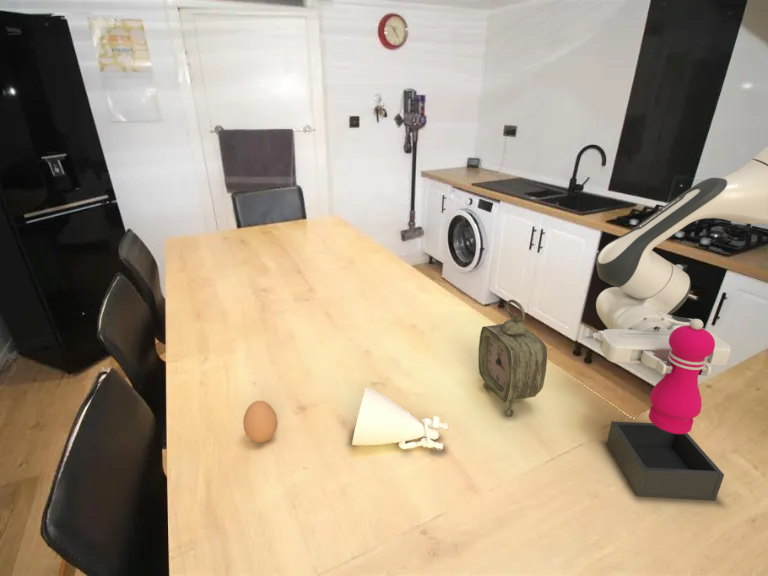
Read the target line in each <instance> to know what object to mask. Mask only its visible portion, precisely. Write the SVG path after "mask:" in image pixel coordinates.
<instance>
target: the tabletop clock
mask: <svg viewBox="0 0 768 576" xmlns="http://www.w3.org/2000/svg"><path fill="white" fill-rule="evenodd" d="M510 303H512V304H514V305H516V306H517V307H518V308H519V310H520V312H521V315H522V318H518V313H516V312H513V313H512V312H511V311H510V308H509V304H510ZM505 308H506V309H505V310H506V312H507V314H508V315H509V317H510V318H509V319H507V320H505V322H504V323H500V324H499V323H498V324H492V325H485V326H482V327H481V330H480V334H479V342H478V358H477V359H478V373H479V375H480V377H481V379H482V381H483V382H484V383H483V384H482V386H483V389H485V390H488V389H489V390H490V391H491V392H492V393H493V394H494V395H495V396H496V397H497V398H498V399H499V400H500V401H502V402H504V403H507V402H509V406H508V408H507V409H505V415H506V416H508V417H512V416H513V415H514V410H513V405H514V402H515V401H519V400H525V399H530V398H534V397H537V395H538V394H539V393H540V392H541V391H542V389H543V387H544V384H545V379H546V374H547V373H546V372H547V364H548V347H547V345H546V343H545V342H544V341H543V340H542V339H541V338H540V337H539V336H537V335H536V334H534V332H532V331H530V330H529V329H527V328H526V326H525V324H524V323H523V322H524V321H525V318H526V313H525V309H524V307H523V306H522V305H521V303H520V302H518V301H517V300H515V299H509V300H507V301H506V304H505Z"/></svg>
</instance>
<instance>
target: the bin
mask: <svg viewBox="0 0 768 576" xmlns="http://www.w3.org/2000/svg"><path fill="white" fill-rule="evenodd" d="M606 446H607V448H608V450H609V452H610V453H611V455H612V456H613V458H614V460H615V461H616V463H617V465H618V467H619V469H620V470H621V473H623V475H624V477H625V479H626V480H627V483H628V484H629V485H630V488H631V489H632V491H633V493H634V494H635V495H636V497H645V498H646V497H647V498H662V499H679V500H680V499H682V500H696V501H697V500H698V501H699V500H700V501H717V497H718V494H719V492H720V488H721V487H722V483H723V479H724V477H725V474H724V472H722V470H721V469H720V468H719V467H718V466H717V464H715V462H714V461H713V460H712V459H711V458H710V456H708V455H707V453H706V452H705V451H704V450H703V449H702V448H701V447H700V446H699V445H698V443H697V442H696V441H695V440H694V439H693V438H692V436H691V435H690V434H689V432H688V433H686V434H675V433H670V432H667V431H664V430H662V429H660V428H658V427H657V426H655V425H654V424H653V423H652V422H635V421H634V422H633V421H615V420H614V421H610V425H609V430H608V435H607V439H606Z"/></svg>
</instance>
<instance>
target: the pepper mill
mask: <svg viewBox="0 0 768 576" xmlns="http://www.w3.org/2000/svg"><path fill="white" fill-rule="evenodd" d="M692 319H693V320H691V321H690V324H689V325H690V326H689V325H688V326H681V327H678V328H676V329H675V330H674V331H673V332H672V333H671V335H670V337H669V345H670V347H671V348H672V349H671V350H670V351H669V354H670V355H669V356H668V359H669V361H670V364H671V365H672V366H673V369H672V370H671V372H672V373H671V374H664V376H663V377H662V378H661V379H660V380H659V381H658V382H657V383H656V384H655V385H654V386H653V388H652V390H651V392H650V394H649V401H650V404H651V406H650V408H649V413H648V419H649V420H650V423H653V424H654V425H655V426H657V427H658V428H660V429H662V430H664V431H667V432H670V433H675V434H686V433H688V434H689V433H690V432H691V431H692V428H693V425H694V418H696V417H698V416H699V415H700V413H701V411H702V405H703V403H702V402H703V401H702V396H701V393H700V387H699V382H698V381H699V380H698V379H699V375H698V374H699V372H700V370H701V369H703V368H704V367H705V363H706V361H707V360H706V358H705V357H707V356H709V355H711V354H712V353H713V351H714V348H715V340H714V338H713V336H712V335H711V334H710V333H709V332H708V331H709V330H708V331H706V330H707V329H706V328H704V322H703V321H702V319H700V318H692ZM702 328H703V329H702ZM705 329H706V330H705Z"/></svg>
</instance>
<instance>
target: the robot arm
mask: <svg viewBox="0 0 768 576" xmlns="http://www.w3.org/2000/svg"><path fill="white" fill-rule="evenodd" d="M704 219H718V220H719V219H720V220H725V221H729V222H730V221H731V222H735V223H740V224H747V225H763V224H764V225H765V224H768V145H767V146H765V147H764V148H763V149H762V150H761V151H759V152H758V153H757V154H756V155H754V157H752V158H751V159H750V160H749V161H748V162H747V163H745V164H744V165H743V166H741V167H740V168H738V169H737V170H735V171H733V172H731V173H728V174H726V175H724V176H722V177H709V178H706V179H704V180H702V181H699V182H698V183H697V184H695V185H693V186H691V187H690V188H688V189H687V190H685V191H684V192H682V193H681V194H680V195H678V196H677V197H676V198H674V199H673V200H671V201H670V202H668V203H667V204H665V205H664V206H662V208H660V209H658V210H657V211H656V212H655V213H653V214H651V215H650V216H649V217H648V218H646V219H644V220H643V221H642V222H641V223H639V224H638V225H637V226H635V227H633V228H632V229H631V230H629V231H627V232H626V233H624V234H622V235H621V236H619V237H617V238H615V239H613V240H611V241H610V242H608V243H607V244H606V245H605V246H603V248H602V249H601V250H600V251H599V253H598V254H597V256H596V271H597V274H598V277H599V279H600V280H601V281H603V282H605V283H607V284H609V285H610V286H613V287H607V288H605V289H604V290H602V291H601V292H600V293H599V294H598V296H597V297H596V301H595V308H596V313H597V315H598V317H599V319H600V320H601V322H602V323H603V324H604V325H605V327H606V328H607V329H602V330H598V331H597V332H594V333H593V334H592V337H593V339H594V341H596V342H597V343H598V344H599V347H600V350H601V352H602V354H603V356H604V357H605V359H606V360H607V361H609V362H611V363H612V364H613V363H614V364H628V365H629V364H632V365H644V366H646V367H648V368H651V369H653V370H655V371H656V372H658V373H659V375H666V374H671V373H672V372H671V370H672V369H673V366H672V365H671V364H670V361H669V359H668V356H669V355H670V354H669V351H670V350H671V349H672V348H671V347H670V345H669V337H670V335H671V333H672V332H673V331H674V330H675V329H676V328H678V327H681V326H688V325H689V324H690V321H691V320H693V319H694V318H687V317H684V316H683V317H682V316H676V315H672V314H674V313H675V312H676V311H678V310H679V309H680V308H681V307H682V306H683V304H684V303H685V302H686V301H687V300H688V297H689V295H690V292H691V287H692V283H691V281H692V280H691V278H690V275H689V273H687V272H685V271H684V270H682V269H681V268H679V267H678V266H676V265H675V264H674V263H672V262H671V261H669V260H667V259H665V258H664V257H662V256H661V255H659V254H658V253H657V252H655V251H653V250H654V248H656V247H657V246H659V245H660V244H661V243H663V242H665V241H666V240H667V239H669V238H670V237H672V236H673V235H675V234H676V233H678V232H679V231H680V230H682V229H683V228H685V227H686V226H688V225H690V224H691V223H693V222H695V221H699V220H704ZM689 326H690V325H689ZM702 329H705V330H706V331H708V332H709V333H710V334H711V335H712V336H713V338H714V340H715V348H714V351H713V353H712V354H711V355H709V356H707V357H705V358H706V360H707V361H706V363H705V367H704V368H703V369H701V370H700V372H699V374H698V376H711V373H712V369H713V368H712V367H726V366H727V364H728V362H729V361H730V358H731V354H732V348H731V346H730V345H729V343H727V342H726V341H724V340H723V339H722V338H720V337H719V336H717V334H714V333H713V332H711V331H710V330H708V329H706V328H704V327H702Z"/></svg>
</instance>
